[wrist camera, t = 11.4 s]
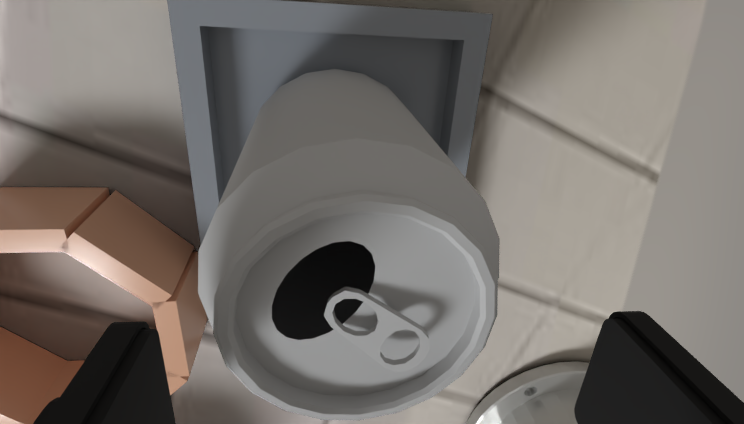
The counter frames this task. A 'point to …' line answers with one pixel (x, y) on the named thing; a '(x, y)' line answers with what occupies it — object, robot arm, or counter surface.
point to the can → (347, 255)
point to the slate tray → (311, 54)
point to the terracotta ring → (108, 258)
